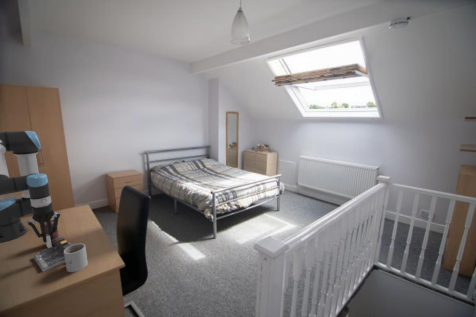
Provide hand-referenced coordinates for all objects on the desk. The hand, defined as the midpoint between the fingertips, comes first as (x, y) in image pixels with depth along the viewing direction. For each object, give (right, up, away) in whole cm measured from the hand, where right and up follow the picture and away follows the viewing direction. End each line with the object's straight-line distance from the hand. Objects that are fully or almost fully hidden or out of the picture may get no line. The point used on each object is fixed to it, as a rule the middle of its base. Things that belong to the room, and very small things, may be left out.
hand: (49, 246), depth 114 cm
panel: (+2, -7, +3) cm, 8 cm away
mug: (+16, -8, -3) cm, 19 cm away
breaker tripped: (+4, -4, +5) cm, 8 cm away
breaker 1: (-1, -4, +9) cm, 9 cm away
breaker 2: (+8, -5, +2) cm, 10 cm away
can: (-10, -5, +14) cm, 18 cm away
